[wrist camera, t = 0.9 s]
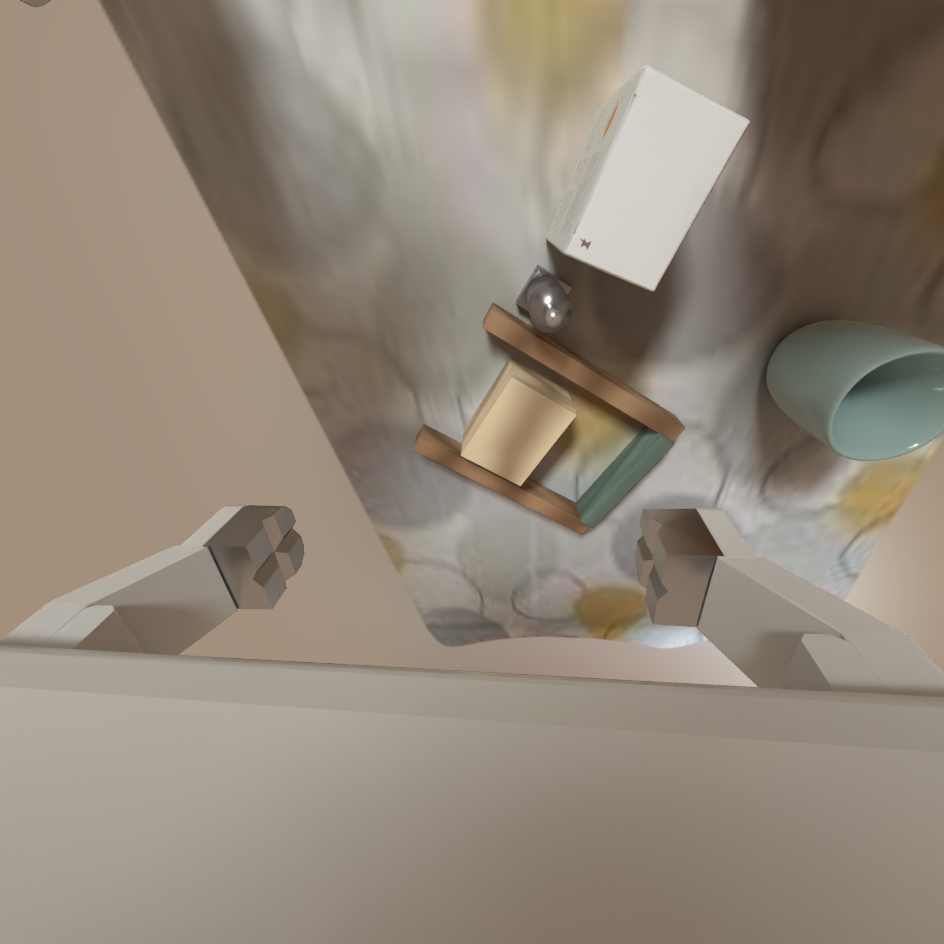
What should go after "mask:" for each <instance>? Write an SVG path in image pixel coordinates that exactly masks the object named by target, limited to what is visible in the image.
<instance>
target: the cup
mask: <svg viewBox="0 0 944 944" xmlns="http://www.w3.org/2000/svg"><path fill="white" fill-rule="evenodd" d="M766 383H767V387H768V390H769V393H770V395H771V397H772V398H773V400H774V401H775V403H776V404H777V406H778V407H779V408H780V409H781V410H782V411H783V412H784V413H785V414H786V415H787V416H788V417H789V418H790V419H791V420H792V421H794V422H795V423H796V424H797V425H798V426H800V427H801V428H802V429H803V430H805V431H806V432H807V433H809V434H810V435H811V436H812V437H814V438H815V439H816V440H818V441H819V442H820V443H822V444H823V445H824V446H826V447H827V448H828V449H830V450H831V451H833V452H834V453H836V454H838V455H840V456H843V457H845V458H848V459H853V460H859V461H876V460H884V459H889V458H894V457H898V456H901V455H904V454H907V453H909V452H912V451H914V450H916V449H918V448H920V447H922V446H924V445H926V444H927V443H929V442H930V441H932V440H933V439H935V438H936V437H937V436H939V435H940V434H941V433H942V432H943V431H944V346H941V345H939V344H936V343H933V342H931V341H928V340H925V339H922V338H919V337H916V336H913V335H910V334H907V333H904V332H901V331H898V330H895V329H892V328H888V327H885V326H881V325H877V324H872V323H867V322H861V321H854V320H826V321H820V322H815V323H812V324H809V325H806V326H804V327H801V328H799V329H797V330H795V331H794V332H792V333H791V334H789V335H788V336H786V337H785V338H784V339H783V340H782V341H781V342H780V343H779V345H778V346H777V347H776V349H775V350H774V352H773V354H772V356H771V358H770V360H769V363H768V367H767V372H766Z"/></svg>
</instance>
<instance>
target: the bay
mask: <svg viewBox="0 0 944 944" xmlns="http://www.w3.org/2000/svg"><path fill="white" fill-rule="evenodd" d="M483 328H484V329H485V330H487V331H489V332H490V333H492V334H494V335H495V336H497V337H499V338H500V339H502V340H504V341H505V342H507V343H509V344H510V345H512V346H514V347H515V348H517V349H519V350H520V351H522V352H524V353H526V354H527V355H529V356H531V357H532V358H534V359H536V360H537V361H539V362H541V363H542V364H544V365H546V366H547V367H549V368H551V369H552V370H554V371H556V372H557V373H559V374H561V375H562V376H564V377H566V378H567V379H569V380H571V381H572V382H574V383H576V384H577V385H579V386H581V387H582V388H584V389H586V390H587V391H589V392H591V393H592V394H594V395H596V396H597V397H599V398H601V399H602V400H604V401H606V402H607V403H609V404H611V405H612V406H614V407H616V408H617V409H619V410H621V411H622V412H624V413H626V414H627V415H629V416H631V417H633V418H634V419H636V420H638V421H639V422H641V423H643V424H644V425H646V426H645V427H644V428H643V429H642V430H641V432H640V433H639V434H638V435H637V436H636V437H635V438H634V439H633V440H632V441H631V443H630V444H629V445H628V446H627V447H626V448H625V449H624V450H623V451H622V452H621V454H620V455H619V456H618V457H617V458H616V459H615V460H614V461H613V462H612V463H611V465H610V466H609V467H608V468H607V469H606V470H605V471H604V472H603V473H602V475H601V476H600V477H599V478H598V479H597V480H596V481H595V482H594V483H593V484H592V486H591V487H590V488H589V489H588V490H587V491H586V492H585V493H584V494H583V495H582V497H581V498H580V499H579V500H578V501H577V502H576V503H575V502H573V501H571V500H569V499H567V498H565V497H563V496H561V495H559V494H557V493H556V492H554V491H552V490H550V489H548V488H546V487H544V486H542V485H540V484H538V483H536V482H534V481H532V480H530V479H529V478H527V479H526V480H525V481H524V482H523V484H522V485H521V486H519V485H517V484H515V483H513V482H511V481H509V480H507V479H505V478H503V477H501V476H500V475H498V474H496V473H494V472H492V471H490V470H488V469H486V468H484V467H482V466H480V465H478V464H476V463H474V462H472V461H470V460H468V459H466V458H464V457H462V456H461V450H462V444H461V443H459V442H457V441H455V440H453V439H451V438H449V437H447V436H445V435H443V434H442V433H440V432H438V431H436V430H434V429H432V428H430V427H428V426H426V425H423V427H422V429H421V430H420V432H419V434H418V436H417V438H416V441H415V444H414V447H413V450H414V451H416V452H418V453H420V454H422V455H424V456H426V457H428V458H430V459H432V460H434V461H436V462H438V463H440V464H442V465H444V466H446V467H448V468H450V469H452V470H454V471H456V472H458V473H460V474H462V475H464V476H466V477H468V478H470V479H472V480H474V481H476V482H478V483H480V484H482V485H484V486H486V487H488V488H490V489H493V490H495V491H497V492H499V493H501V494H503V495H505V496H507V497H509V498H511V499H513V500H515V501H517V502H519V503H521V504H523V505H525V506H527V507H529V508H531V509H533V510H535V511H537V512H539V513H541V514H543V515H545V516H547V517H549V518H551V519H553V520H555V521H557V522H559V523H561V524H563V525H565V526H567V527H569V528H571V529H573V530H575V531H577V532H579V533H581V534H583V533H584V532H585V531H586V530H587V529H588V528H589V527H592V528H593V527H594V526H595V525H596V524H597V523H598V522H599V521H600V520H601V519H602V518H603V517H604V516H605V515H606V514H607V513H608V512H609V511H610V510H611V509H612V508H613V507H614V506H615V505H616V504H617V503H618V502H619V501H620V500H621V499H622V498H623V497H624V496H625V495H626V494H627V492H628V491H629V490H630V489H631V488H632V487H633V486H634V485H635V484H636V483H637V482H638V481H639V480H640V479H641V478H642V477H643V476H644V475H645V474H646V473H647V472H648V471H649V470H650V469H651V468H652V467H653V466H654V465H655V464H656V463H657V462H658V461H659V460H660V459H661V458H662V457H663V456H664V455H665V454H666V453H667V452H668V451H669V450H670V449H671V448H672V446H673V445H674V443H673V441H674V440H675V438H676V437H677V436H678V435H679V434H680V433H681V432H682V431H683V430H684V429H685V427H684V426H683V424H682V423H681V422H680V421H679V419H678V418H677V417H676V416H675V415H674V414H672V413H671V412H669V411H668V410H666V409H664V408H663V407H661V406H659V405H658V404H656V403H655V402H653V401H651V400H650V399H648V398H646V397H645V396H643V395H642V394H640V393H638V392H637V391H635V390H634V389H632V388H630V387H629V386H627V385H625V384H624V383H622V382H621V381H619V380H617V379H616V378H614V377H613V376H611V375H609V374H608V373H606V372H604V371H603V370H601V369H600V368H598V367H596V366H595V365H593V364H591V363H590V362H588V361H587V360H585V359H583V358H582V357H580V356H579V355H577V354H575V353H574V352H572V351H570V350H569V349H567V348H566V347H564V346H562V345H561V344H559V343H558V342H556V341H554V340H553V339H551V338H549V337H548V336H546V335H545V334H543V333H541V332H540V331H538V330H537V329H535V328H533V327H532V326H530V325H528V324H527V323H525V322H524V321H522V320H520V319H519V318H517V317H515V316H514V315H512V314H511V313H509V312H507V311H506V310H504V309H503V308H501V307H499V306H498V305H496V304H494V303H493V304H492V305H491V307H490V309H489V311H488V312H487V314H486V316H485V318H484V319H483Z"/></svg>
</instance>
